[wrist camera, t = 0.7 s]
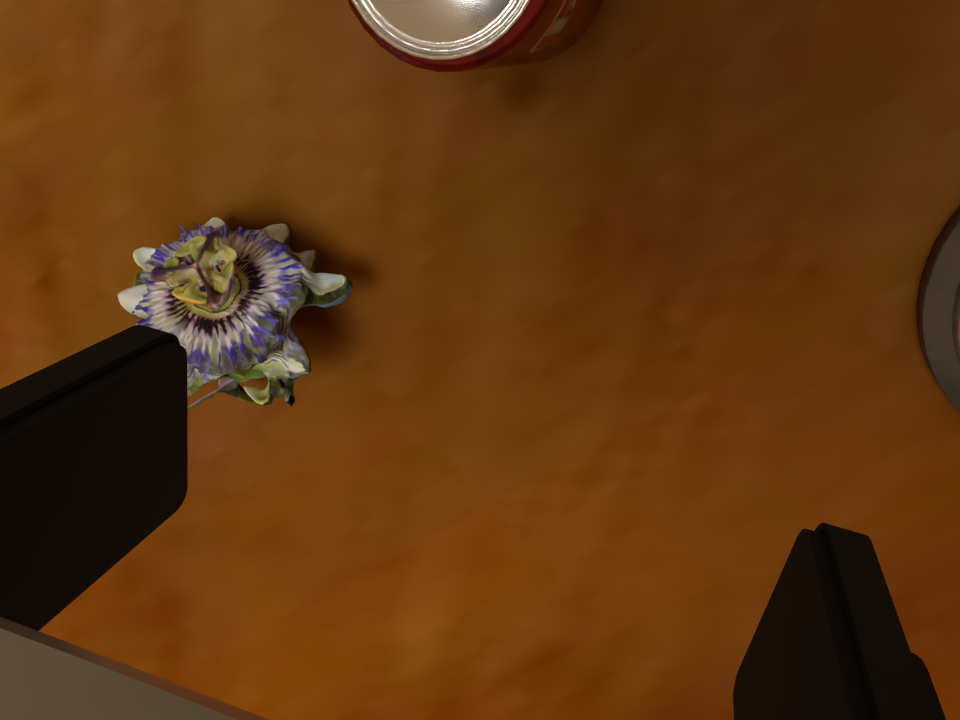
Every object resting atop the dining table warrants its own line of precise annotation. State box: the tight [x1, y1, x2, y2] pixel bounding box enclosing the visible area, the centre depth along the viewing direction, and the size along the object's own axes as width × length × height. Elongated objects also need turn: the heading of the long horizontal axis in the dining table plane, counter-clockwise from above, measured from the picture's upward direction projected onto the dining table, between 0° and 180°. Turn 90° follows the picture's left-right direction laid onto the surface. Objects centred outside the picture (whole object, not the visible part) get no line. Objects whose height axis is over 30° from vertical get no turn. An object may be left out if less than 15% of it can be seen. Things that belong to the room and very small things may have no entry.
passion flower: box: [118, 217, 353, 410], centre depth 39 cm, size 11×11×12 cm
